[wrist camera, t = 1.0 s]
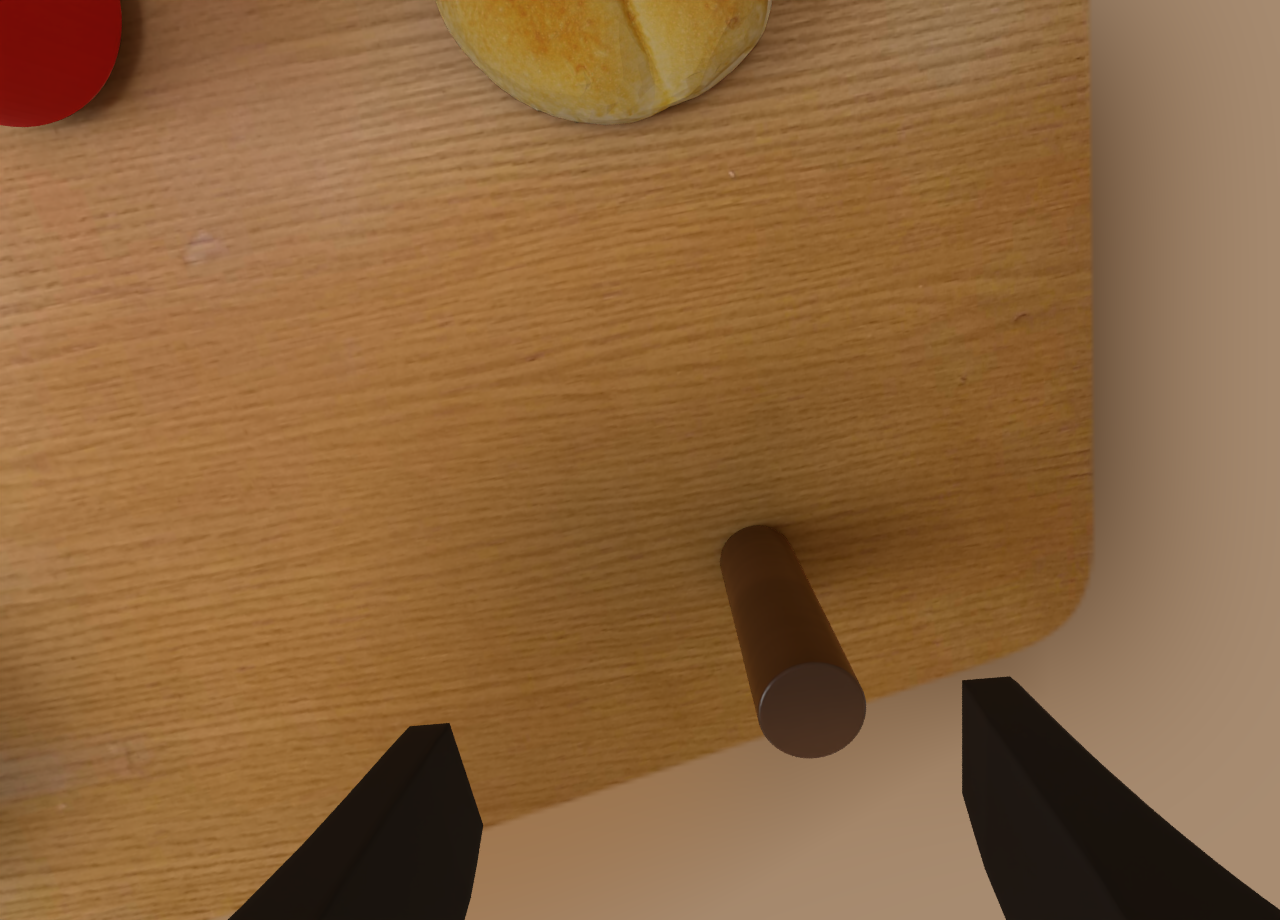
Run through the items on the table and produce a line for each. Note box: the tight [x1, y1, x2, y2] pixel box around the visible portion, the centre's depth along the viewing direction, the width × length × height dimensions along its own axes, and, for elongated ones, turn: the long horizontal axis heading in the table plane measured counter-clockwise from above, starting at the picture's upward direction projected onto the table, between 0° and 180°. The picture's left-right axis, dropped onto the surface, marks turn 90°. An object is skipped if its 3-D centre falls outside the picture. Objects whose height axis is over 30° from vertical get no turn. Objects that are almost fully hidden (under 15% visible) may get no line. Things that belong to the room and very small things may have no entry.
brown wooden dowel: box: [720, 526, 866, 758], centre depth 22 cm, size 2×2×9 cm
